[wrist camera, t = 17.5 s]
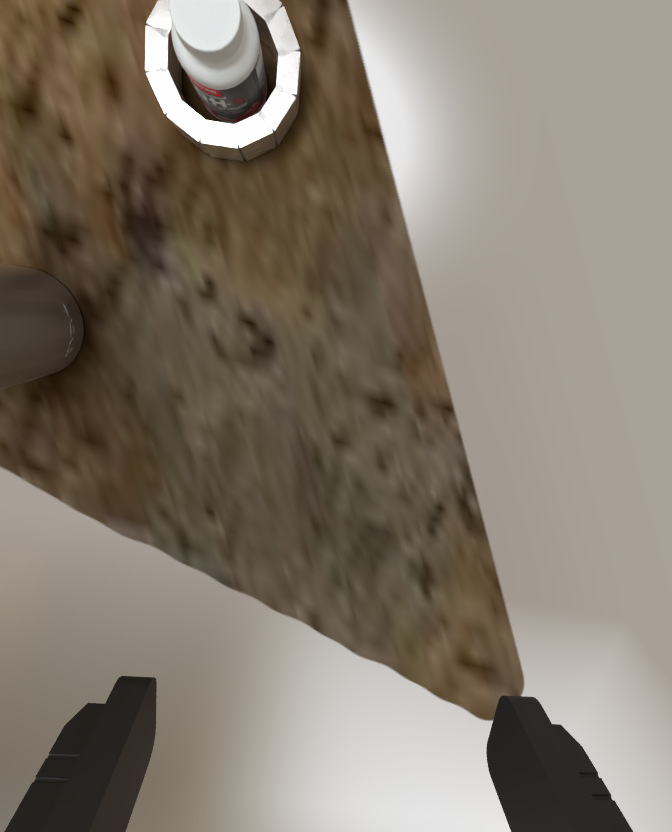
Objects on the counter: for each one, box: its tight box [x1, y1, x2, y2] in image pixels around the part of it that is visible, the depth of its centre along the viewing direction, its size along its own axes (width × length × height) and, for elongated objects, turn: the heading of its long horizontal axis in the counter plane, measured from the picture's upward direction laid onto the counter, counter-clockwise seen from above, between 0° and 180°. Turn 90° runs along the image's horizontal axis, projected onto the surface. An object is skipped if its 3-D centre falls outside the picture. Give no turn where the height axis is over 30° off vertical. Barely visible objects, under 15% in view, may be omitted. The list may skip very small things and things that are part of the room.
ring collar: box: [145, 0, 301, 162], centre depth 32 cm, size 10×10×4 cm
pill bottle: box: [170, 0, 267, 124], centre depth 30 cm, size 5×5×10 cm
